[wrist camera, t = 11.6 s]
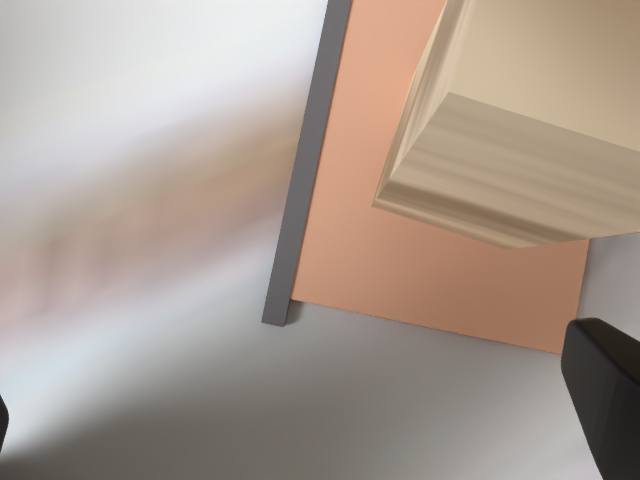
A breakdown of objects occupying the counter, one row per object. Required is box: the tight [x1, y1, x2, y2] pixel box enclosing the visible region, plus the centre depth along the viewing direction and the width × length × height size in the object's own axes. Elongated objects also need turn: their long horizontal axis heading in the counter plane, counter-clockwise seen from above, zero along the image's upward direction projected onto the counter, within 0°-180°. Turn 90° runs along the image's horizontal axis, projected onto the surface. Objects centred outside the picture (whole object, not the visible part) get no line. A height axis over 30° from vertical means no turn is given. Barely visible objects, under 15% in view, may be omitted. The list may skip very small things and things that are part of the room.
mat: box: [261, 0, 590, 355], centre depth 21 cm, size 14×11×1 cm
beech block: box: [371, 0, 640, 250], centre depth 14 cm, size 5×5×13 cm
